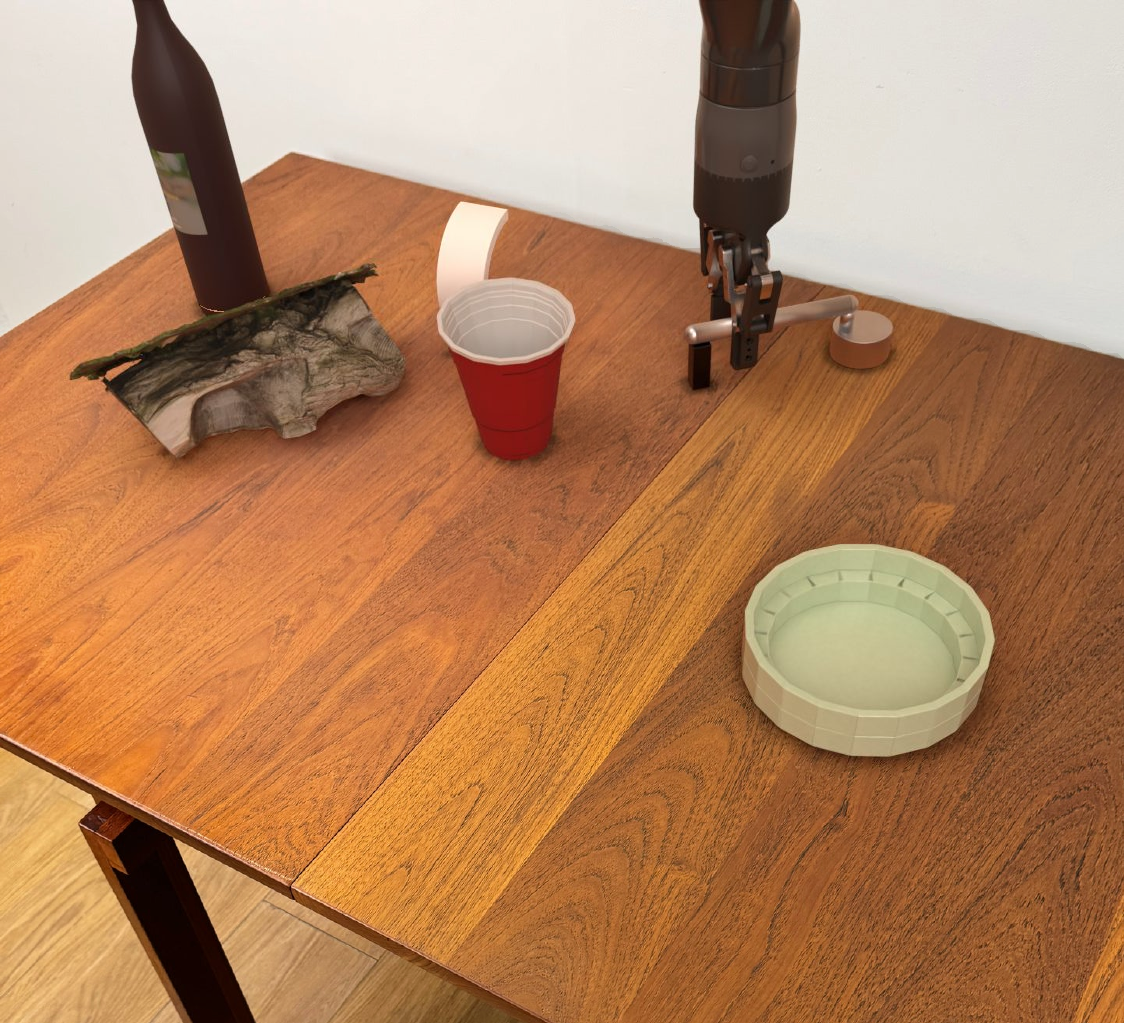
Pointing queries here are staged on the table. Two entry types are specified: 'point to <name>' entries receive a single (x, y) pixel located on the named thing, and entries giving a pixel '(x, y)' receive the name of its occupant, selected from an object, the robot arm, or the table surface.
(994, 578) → the table surface
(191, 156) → the wine bottle
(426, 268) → the table surface
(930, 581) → the bowl
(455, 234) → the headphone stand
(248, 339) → the mossy driftwood chunk
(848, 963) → the table surface
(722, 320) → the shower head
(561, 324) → the plastic cup
